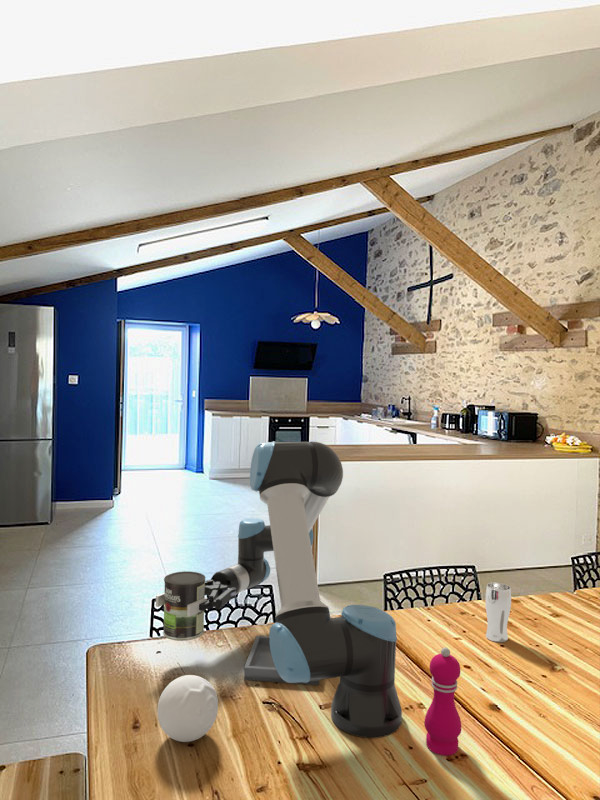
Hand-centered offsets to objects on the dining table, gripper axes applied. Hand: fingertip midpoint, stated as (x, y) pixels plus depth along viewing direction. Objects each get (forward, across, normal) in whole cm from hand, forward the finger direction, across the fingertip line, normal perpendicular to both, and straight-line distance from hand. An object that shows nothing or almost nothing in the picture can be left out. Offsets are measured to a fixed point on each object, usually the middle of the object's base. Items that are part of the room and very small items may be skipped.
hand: (172, 606), depth 148 cm
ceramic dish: (-18, -22, -16) cm, 32 cm away
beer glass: (-66, -62, -16) cm, 93 cm away
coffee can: (-4, 0, -8) cm, 9 cm away
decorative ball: (+19, -23, -16) cm, 34 cm away
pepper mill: (-8, -67, -16) cm, 69 cm away
